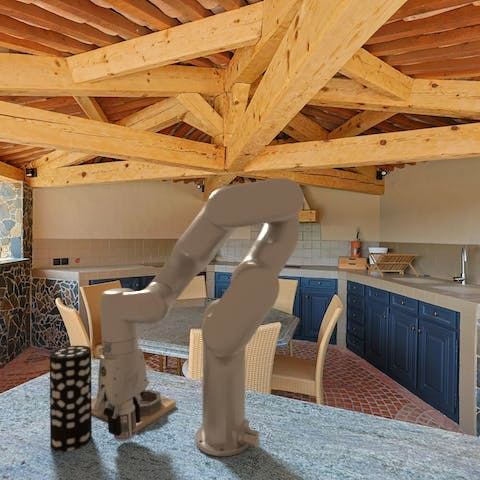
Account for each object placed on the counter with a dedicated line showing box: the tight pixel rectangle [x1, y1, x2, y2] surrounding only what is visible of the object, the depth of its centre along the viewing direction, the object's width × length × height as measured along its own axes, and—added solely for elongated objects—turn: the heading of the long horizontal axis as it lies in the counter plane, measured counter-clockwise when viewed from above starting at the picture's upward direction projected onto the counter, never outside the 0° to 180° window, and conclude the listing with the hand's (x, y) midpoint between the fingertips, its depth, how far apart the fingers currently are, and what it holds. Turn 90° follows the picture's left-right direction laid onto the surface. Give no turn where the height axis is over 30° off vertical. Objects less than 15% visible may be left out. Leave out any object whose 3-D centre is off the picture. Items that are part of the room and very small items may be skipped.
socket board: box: [91, 389, 177, 433], centre depth 95 cm, size 20×14×4 cm
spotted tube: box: [49, 345, 93, 453], centre depth 80 cm, size 8×8×20 cm
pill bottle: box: [113, 398, 137, 442], centre depth 79 cm, size 5×5×8 cm
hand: (124, 426), depth 79 cm, fingers closed on pill bottle, 4 cm apart
